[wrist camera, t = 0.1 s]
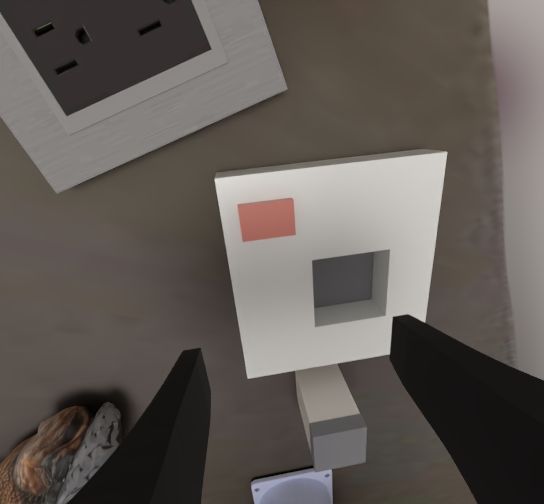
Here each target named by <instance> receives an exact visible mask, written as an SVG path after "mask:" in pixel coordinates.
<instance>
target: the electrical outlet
mask: <svg viewBox="0 0 544 504" xmlns="http://www.w3.org/2000/svg"><path fill="white" fill-rule="evenodd" d="M287 89H288V88H287V85H286V82H285V79H284V76H283V73H282V70H281V67H280V64H279V61H278V58H277V55H276V52H275V49H274V47H273V44H272V41H271V38H270V35H269V32H268V29H267V26H266V23H265V20H264V17H263V14H262V11H261V8H260V5H259V2H258V0H0V117H1V118H2V119H3V121H4V122H5V123H6V125H7V126H8V128H9V129H10V130H11V132H12V133H13V134H14V136H15V137H16V139H17V140H18V141H19V143H20V144H21V145H22V147H23V148H24V150H25V151H26V152H27V154H28V155H29V156H30V158H31V159H32V161H33V162H34V163H35V165H36V166H37V167H38V169H39V170H40V172H41V173H42V174H43V176H44V177H45V178H46V180H47V181H48V183H49V184H50V185H51V187H52V188H53V189H54V191H55V192H56V194H58V193H60V192H62V191H64V190H67V189H69V188H71V187H73V186H75V185H78V184H80V183H82V182H84V181H86V180H89V179H91V178H93V177H95V176H97V175H100V174H102V173H104V172H106V171H108V170H111V169H113V168H115V167H117V166H120V165H122V164H124V163H126V162H128V161H131V160H133V159H135V158H137V157H139V156H142V155H144V154H146V153H148V152H150V151H153V150H155V149H157V148H159V147H161V146H164V145H166V144H168V143H170V142H172V141H175V140H177V139H179V138H181V137H183V136H186V135H188V134H190V133H192V132H195V131H197V130H199V129H201V128H203V127H206V126H208V125H210V124H212V123H214V122H217V121H219V120H221V119H223V118H225V117H228V116H230V115H232V114H234V113H236V112H239V111H241V110H243V109H245V108H247V107H250V106H252V105H254V104H256V103H259V102H261V101H263V100H265V99H267V98H270V97H272V96H274V95H276V94H278V93H281V92H283V91H285V90H287Z"/></svg>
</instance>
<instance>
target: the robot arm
mask: <svg viewBox="0 0 544 504" xmlns="http://www.w3.org/2000/svg"><path fill="white" fill-rule="evenodd" d="M390 361H391V363H392V365H393V367H394V369H395V371H396V373H397V375H398V377H399V379H400V380H401V382H402V384H403V386H404V387H405V389H406V390H407V392H408V393H409V395H410V396H411V398H412V399H413V400H414V402H415V403H416V405H417V406H418V408H419V409H420V411H421V412H422V414H423V415H424V417H425V418H426V419H427V421H428V422H429V424H430V425H431V427H432V428H433V430H434V431H435V432H436V434H437V435H438V437H439V438H440V440H441V441H442V443H443V444H444V446H445V447H446V449H447V451H448V452H449V454H450V455H451V457H452V459H453V460H454V462H455V464H456V466H457V467H458V469H459V471H460V473H461V474H462V476H463V478H464V480H465V481H466V483H467V485H468V487H469V489H470V490H471V492H472V494H473V496H474V498H475V500H476V502H477V503H478V504H544V381H543V380H541V379H539V378H536V377H534V376H531V375H529V374H527V373H524V372H522V371H519V370H517V369H515V368H512V367H510V366H508V365H506V364H504V363H501V362H499V361H497V360H495V359H493V358H491V357H489V356H487V355H485V354H483V353H481V352H479V351H477V350H475V349H473V348H471V347H469V346H467V345H465V344H463V343H461V342H459V341H457V340H456V339H454V338H452V337H450V336H448V335H446V334H444V333H443V332H441V331H439V330H437V329H435V328H433V327H432V326H430V325H428V324H426V323H424V322H423V321H421V320H419V319H417V318H415V317H413V316H411V315H409V314H406V315H400V316H394V317H393V320H392V333H391V346H390ZM210 413H211V390H210V385H209V381H208V377H207V373H206V368H205V364H204V360H203V356H202V351H201V348H197V349H191V350H185V351H183V352H182V353H181V355H180V356H179V358H178V360H177V362H176V363H175V365H174V367H173V368H172V370H171V372H170V373H169V375H168V377H167V378H166V380H165V382H164V383H163V385H162V386H161V388H160V389H159V391H158V392H157V394H156V395H155V397H154V398H153V400H152V402H151V403H150V404H149V406H148V407H147V409H146V410H145V411H144V413H143V414H142V416H141V417H140V418H139V420H138V421H137V423H136V424H135V425H134V427H133V428H132V429H131V431H130V432H129V433H128V435H127V436H126V437H125V438H124V440H123V441H122V442H121V444H120V445H119V446H118V447H117V448H116V450H115V451H114V452H113V453H112V454H111V456H110V457H109V458H108V459H107V460H106V462H105V463H104V464H103V465H102V466H101V467H100V468H99V469H98V471H97V472H96V473H95V474H94V475H93V476H92V477H91V478H90V479H89V480H88V482H87V483H86V484H85V485H84V486H83V487H82V488H81V489H80V490H79V491H78V492H77V493H76V495H75V496H74V497H73V498H72V499H71V500H70V501H69V502H68V503H67V504H201V495H202V486H203V477H204V469H205V461H206V453H207V444H208V436H209V427H210ZM251 489H252V494H253V499H254V504H333V495H332V470H326V471H321V472H316V473H315V471H314V468H311V469H306V470H301V471H296V472H291V473H286V474H281V475H276V476H271V477H266V478H261V479H256V480H253V481H252V482H251Z"/></svg>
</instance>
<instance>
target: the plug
mask: <svg viewBox="0 0 544 504" xmlns="http://www.w3.org/2000/svg"><path fill="white" fill-rule="evenodd" d="M295 376H296V389H297V400H298V404H299V408H300V412H301V416H302V420H303V424H304V428H305V432H306V436H307V440H308V444H309V448H310V452H311V459H312V463H313V467H314V471H315V473H316V472H321V471H326V470H331V469H336V468H341V467H345V466H350V465H355V464H360V463H365V462H366V440H367V426H366V423H365V421H364V419H363V417H362V415H361V414H360V413H359V410H358V408H357V406H356V404H355V402H354V399H353V397H352V395H351V393H350V391H349V389H348V386H347V384H346V382H345V380H344V378H343V375H342V373H341V371H340V369H339V367H338V364H331V365H325V366H319V367H313V368H308V369H302V370H296V371H295Z"/></svg>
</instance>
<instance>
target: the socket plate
mask: <svg viewBox="0 0 544 504" xmlns="http://www.w3.org/2000/svg"><path fill="white" fill-rule="evenodd" d="M446 159H447V152H445V151H436V150H428V149H417V150H408V151H399V152H390V153H382V154H373V155H364V156H355V157H346V158H338V159H329V160H320V161H311V162H302V163H294V164H285V165H276V166H267V167H258V168H250V169H241V170H232V171H223V172H216V175H215V178H214V179H215V185H216V191H217V197H218V203H219V209H220V215H221V221H222V227H223V233H224V239H225V245H226V251H227V257H228V263H229V269H230V275H231V281H232V287H233V293H234V299H235V305H236V311H237V317H238V323H239V329H240V335H241V341H242V347H243V353H244V359H245V365H246V371H247V377H248V379H250V378H256V377H261V376H267V375H273V374H279V373H284V372H290V371H296V370H302V369H308V368H313V367H319V366H325V365H331V364H337V363H342V362H348V361H354V360H360V359H366V358H371V357H377V356H383V355H389V354H390V346H391V333H392V320H393V317H394V316H400V315H406V314H409V315H411V316H413V317H415V318H417V319H419V320H421V321H423V322H424V323H425V319H426V312H427V304H428V296H429V289H430V281H431V273H432V266H433V258H434V250H435V243H436V235H437V227H438V220H439V212H440V204H441V197H442V189H443V182H444V174H445V166H446Z"/></svg>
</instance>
